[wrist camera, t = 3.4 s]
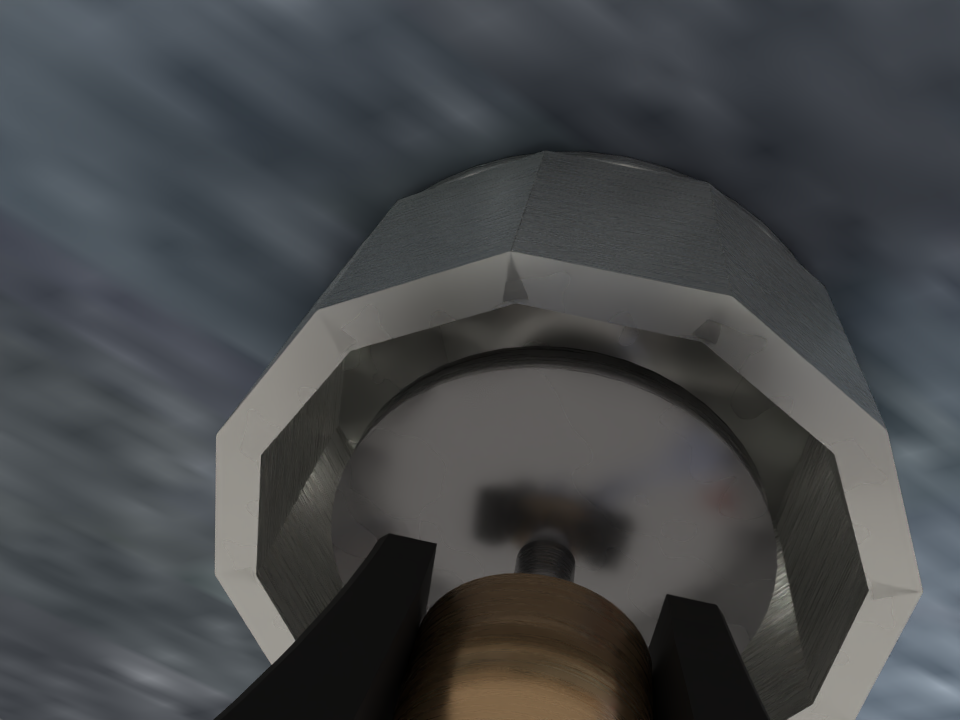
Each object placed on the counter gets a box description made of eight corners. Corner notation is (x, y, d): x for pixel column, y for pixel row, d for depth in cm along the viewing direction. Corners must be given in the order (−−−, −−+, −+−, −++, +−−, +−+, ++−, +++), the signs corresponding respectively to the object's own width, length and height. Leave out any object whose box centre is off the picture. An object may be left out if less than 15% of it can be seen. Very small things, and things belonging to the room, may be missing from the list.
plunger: (869, 539, 12) (982, 875, 8) (568, 742, 15) (541, 1067, 11) (524, 253, 11) (454, 478, 7) (267, 530, 14) (111, 805, 10)
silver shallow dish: (962, 401, 15) (1077, 595, 11) (519, 719, 20) (488, 929, 16) (540, 22, 13) (495, 90, 9) (173, 477, 18) (44, 646, 14)
